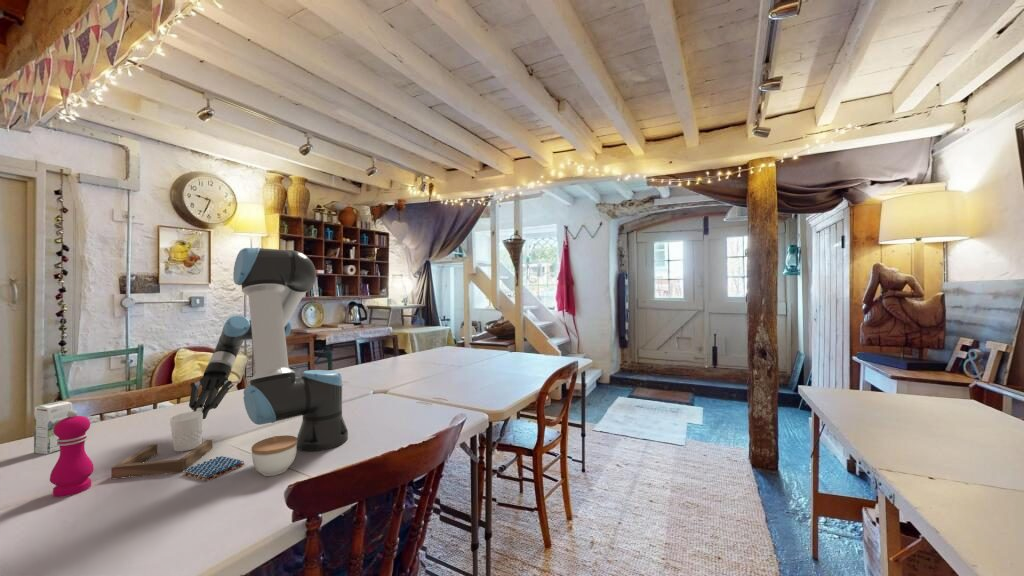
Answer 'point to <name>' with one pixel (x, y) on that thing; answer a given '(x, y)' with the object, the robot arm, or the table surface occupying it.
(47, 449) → the syrup box
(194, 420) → the white cup
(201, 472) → the woven mat
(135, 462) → the walnut bay
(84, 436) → the pepper mill
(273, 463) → the lidded jar
